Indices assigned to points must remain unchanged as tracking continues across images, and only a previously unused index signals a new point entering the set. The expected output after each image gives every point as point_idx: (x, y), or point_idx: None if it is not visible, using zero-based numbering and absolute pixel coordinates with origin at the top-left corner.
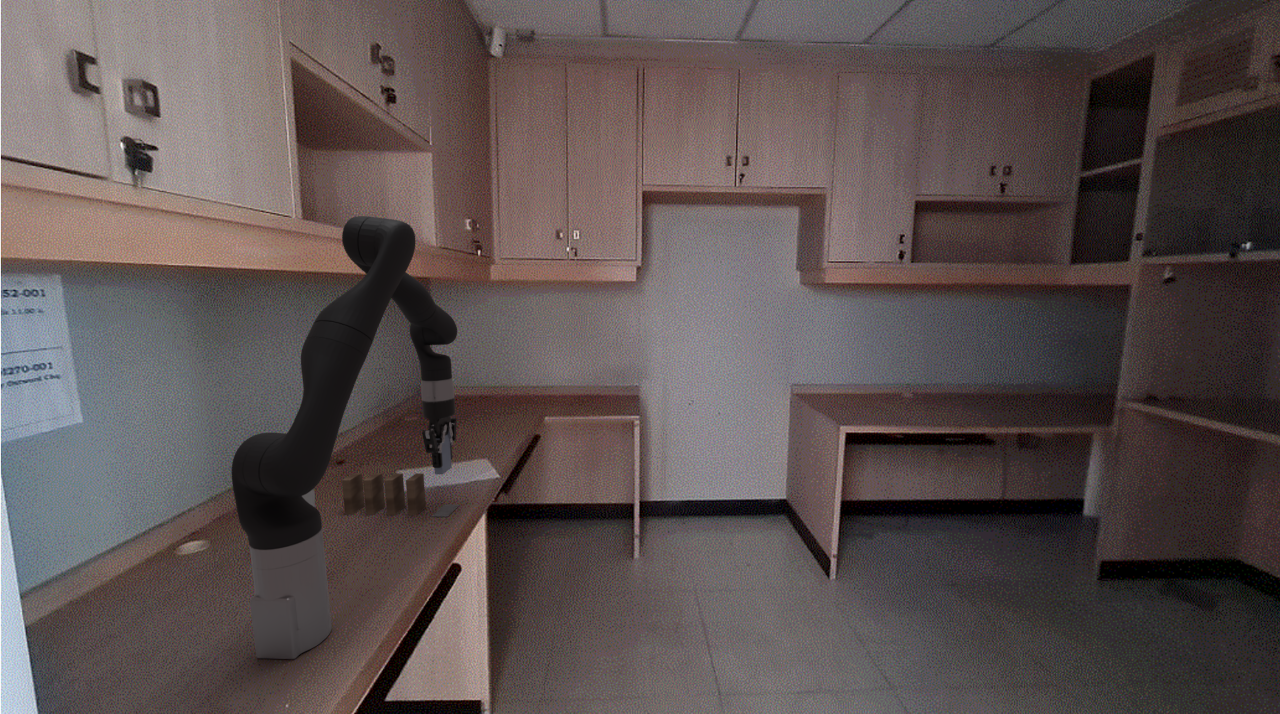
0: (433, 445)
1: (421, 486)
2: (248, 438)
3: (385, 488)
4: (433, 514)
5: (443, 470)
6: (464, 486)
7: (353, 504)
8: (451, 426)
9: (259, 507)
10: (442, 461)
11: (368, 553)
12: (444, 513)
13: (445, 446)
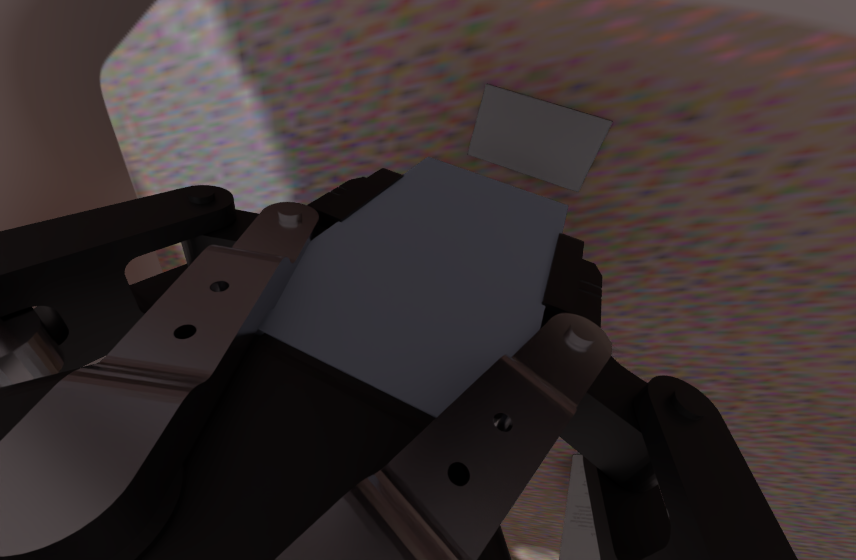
0: (772, 540)
1: None
2: None
3: None
4: (562, 186)
5: (552, 210)
6: (292, 97)
7: None
8: (86, 370)
9: None
10: (545, 248)
11: (839, 371)
12: (569, 140)
13: (425, 282)
